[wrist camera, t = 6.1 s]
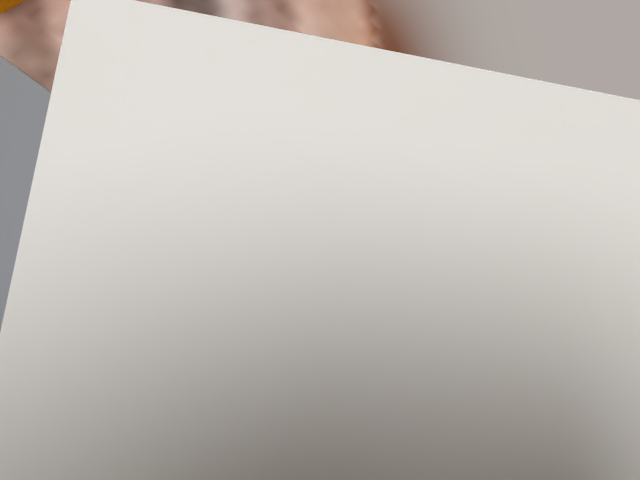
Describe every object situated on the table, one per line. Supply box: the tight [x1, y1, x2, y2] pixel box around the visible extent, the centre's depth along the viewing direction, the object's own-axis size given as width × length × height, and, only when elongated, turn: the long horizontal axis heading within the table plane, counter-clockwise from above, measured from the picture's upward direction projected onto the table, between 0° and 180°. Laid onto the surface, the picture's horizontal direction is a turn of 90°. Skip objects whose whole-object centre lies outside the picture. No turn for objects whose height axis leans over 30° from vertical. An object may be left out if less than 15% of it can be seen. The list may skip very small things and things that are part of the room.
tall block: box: [0, 0, 640, 480], centre depth 9 cm, size 6×6×13 cm
